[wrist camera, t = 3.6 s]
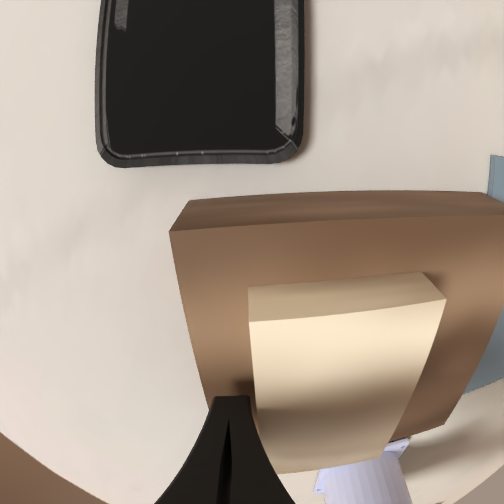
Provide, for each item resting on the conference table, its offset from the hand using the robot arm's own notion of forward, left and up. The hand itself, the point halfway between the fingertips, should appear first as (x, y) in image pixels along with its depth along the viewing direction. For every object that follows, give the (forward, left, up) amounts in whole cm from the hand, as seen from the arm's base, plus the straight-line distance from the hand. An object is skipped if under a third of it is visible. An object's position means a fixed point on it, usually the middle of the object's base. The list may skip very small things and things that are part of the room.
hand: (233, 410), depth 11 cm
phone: (+16, 0, -5) cm, 17 cm away
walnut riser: (0, -6, -4) cm, 7 cm away
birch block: (0, -4, -1) cm, 4 cm away
